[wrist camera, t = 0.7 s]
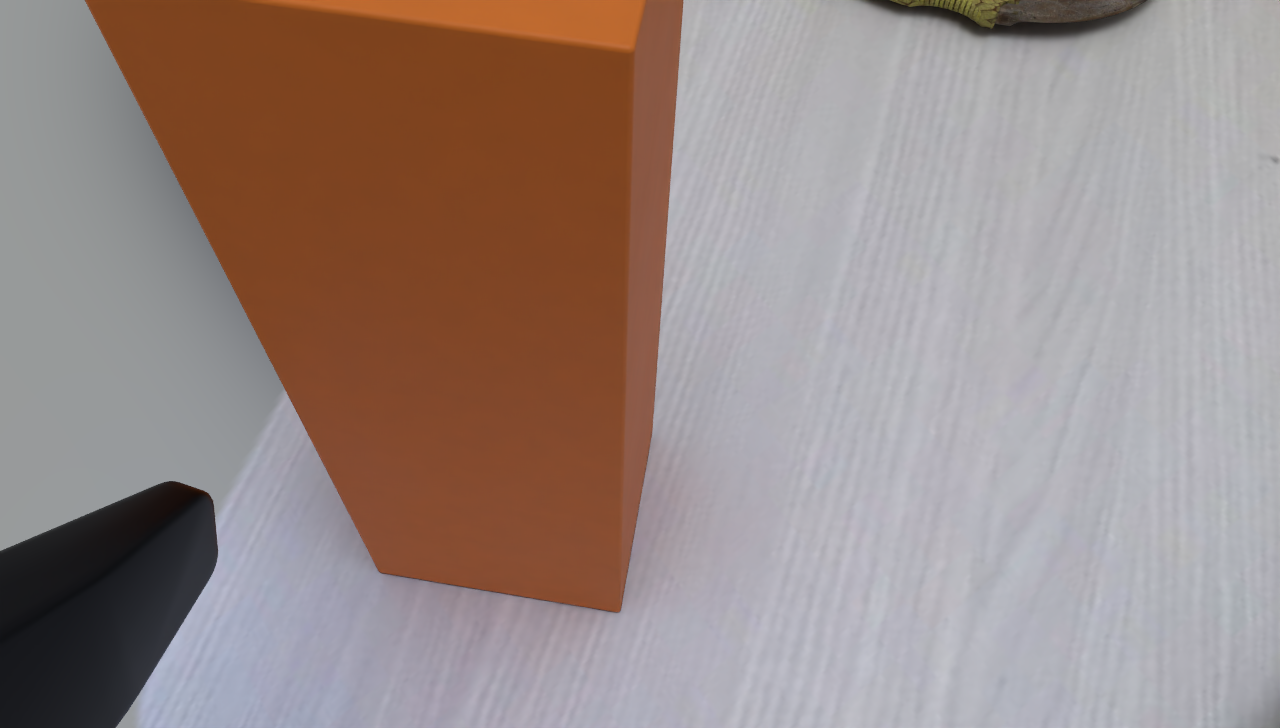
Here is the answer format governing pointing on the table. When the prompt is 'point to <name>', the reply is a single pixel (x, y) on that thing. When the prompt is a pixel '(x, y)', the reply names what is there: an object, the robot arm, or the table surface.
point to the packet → (440, 254)
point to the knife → (1029, 9)
